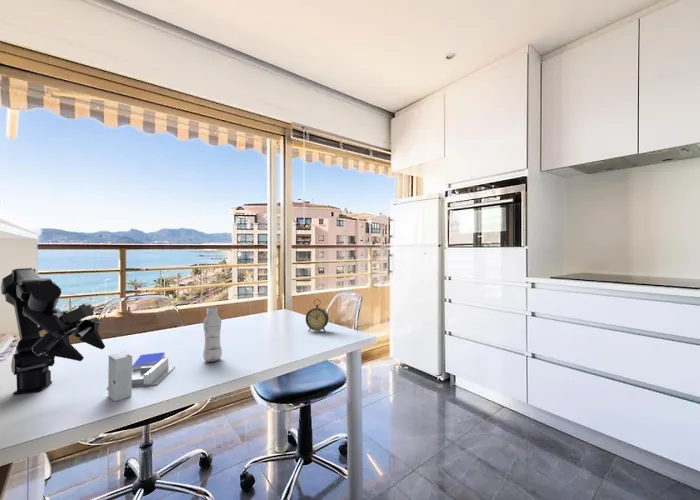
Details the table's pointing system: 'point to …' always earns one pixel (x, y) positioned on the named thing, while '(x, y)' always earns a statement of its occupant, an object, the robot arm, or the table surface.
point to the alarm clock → (317, 318)
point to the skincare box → (120, 376)
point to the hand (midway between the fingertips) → (93, 353)
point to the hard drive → (148, 360)
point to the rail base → (141, 375)
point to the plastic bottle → (212, 335)
